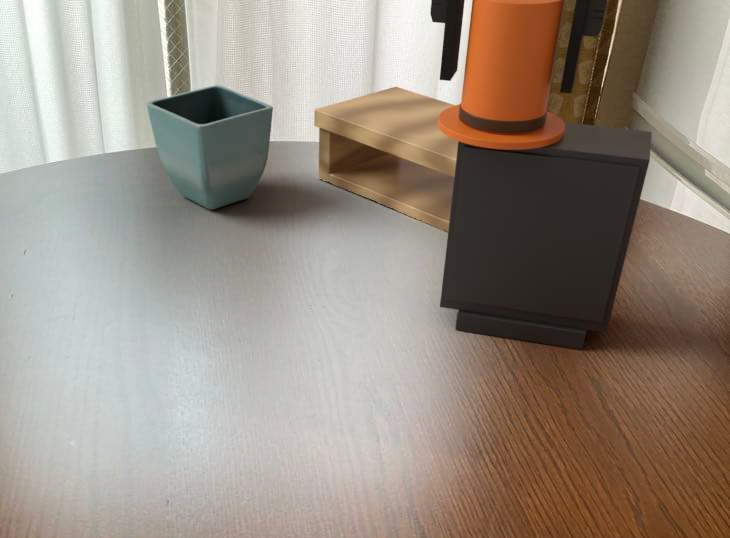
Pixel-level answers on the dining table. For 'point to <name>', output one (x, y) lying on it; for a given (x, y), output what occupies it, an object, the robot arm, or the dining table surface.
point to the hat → (508, 76)
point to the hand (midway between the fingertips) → (507, 80)
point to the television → (543, 234)
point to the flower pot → (212, 143)
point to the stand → (390, 152)
